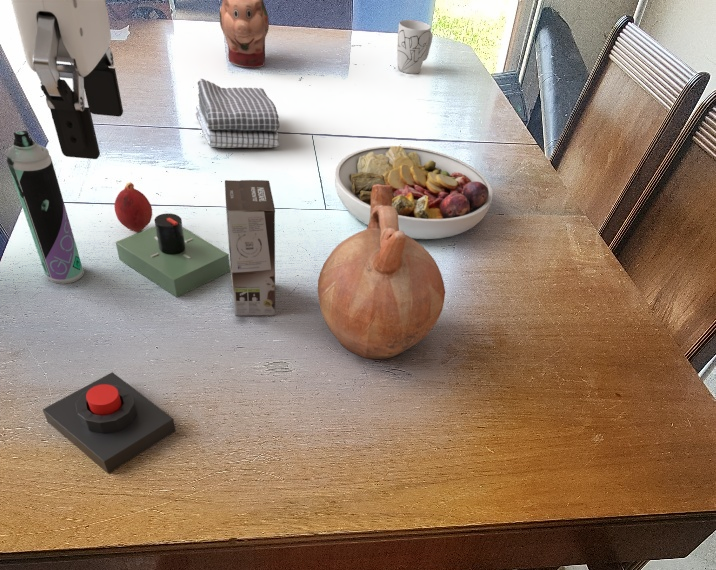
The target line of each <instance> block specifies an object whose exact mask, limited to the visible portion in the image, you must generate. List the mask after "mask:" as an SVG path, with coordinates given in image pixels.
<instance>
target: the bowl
mask: <svg viewBox="0 0 716 570" xmlns="http://www.w3.org/2000/svg"><path fill="white" fill-rule="evenodd" d="M334 172H335V173H334V187H335V191H336V194H337V197H338V199H339V201H340V202H341V204H342V205H343V207H344V208H345V209H346V210H347V212H349V214H351V216H352V217H354V218H356V219H357V221H360V222H362V223H363V224H365V225H366V226H368V224H369V221H370V209H371V192H372V187H373V186H374V185H377V184H379V185H391V186H392V207H394V208H395V209H396V210H397V212H398V224H399V231H403V232H404V234H405V235H407V236H409V237H410V238H412V239H414V240H415V239H416V240H417V239H418V240H437V239H444V238H451V237H455V236H457V235H461V234H463V233H465V232H467V231H469V230H471V229H472V228H475V226H476V225H477V224H479V223H480V222H481V220H482V219H483V218H484V217H485V216H486V215H487V213H488V211H489V208H490V206H491V203H492V199H493V189H492V186H491V184H490V182H489V181H488V179H487V178H486V176H484V174H482V172H480V171H478V170H477V169H476V168H474V167H473V166H472V165H470V164H468V163H466V162H465V161H463V160H460V159H458V158H456V157H453V156H451V155H448V154H446V153H445V154H444V153H441V152H438V151H434V150H432V149H431V150H430V149H426V148H420V147H414V146H405V145H404V146H403V145H384V146H383V145H382V146H374V147H367V148H363V149H360V150H356V151H354V152H352V153H349V154H348V155H346V156H345V157H343V158H342V159H341V160H340V161H339V162H338V164H337V165H336V168H335V171H334Z"/></svg>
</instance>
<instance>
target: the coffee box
mask: <svg viewBox="0 0 716 570" xmlns="http://www.w3.org/2000/svg"><path fill="white" fill-rule="evenodd" d="M224 192H225V193H224V194H225V210H226V225H227V227H226V228H227V238H228V239H227V240H228V250H229V251H228V252H229V253H228V254H229V265H230V277H231V289H232V298H233V300H232V301H233V310H234V315H235V316H275V315H276V208H275V203H274V198H273V193H272V189H271V184H270V180H266V179H265V180H264V179H261V180H260V179H241V180H231V179H230V180H229V179H226V180H224Z"/></svg>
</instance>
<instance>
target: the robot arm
mask: <svg viewBox="0 0 716 570" xmlns="http://www.w3.org/2000/svg"><path fill="white" fill-rule="evenodd" d="M11 4H12V9H13V12H14V16H15V20H16V24H17V25H16V26H17V29H18V33H19V37H20V41H21V45H22V48H23V53H24V57H25V60H26V63H27V66H29V68H30V69H31V70H32V71H33V72H35V73H36V74H37V77H38V78H39V81H40V89H41V91H42V92H43V94H44V96H45V102H46V106H47V108H48V109H49V110H50V114H51V117H52V121H53V124H54V128H55V132H56V137H57V139H58V143H59V146H60V150H61V154H62V155H63V156H64V157H67V158H77V159H86V160H87V159H88V160H89V159H90V160H97V159H99V157H100V156H101V151H100V147H99V143H98V137H97V135H96V134H97V133H96V130H95V124H94V122H93V121H94V120H93V117H92V116H93V115H96V116H97V115H99V116H108V117H109V116H110V117H121V116H123V113H124V108H123V104H122V97H121V92H120V85H119V81H118V76H117V70H116V68H115V67H114V66H115V58H114V54H113V51H112V49H111V47H110V45H111V41H112V34H111V25H110V17H109V12H108V11H109V10H108V6H107V1H106V0H11ZM57 62H60V63H57ZM61 62H62V63H61ZM65 63H67V64H65ZM65 79H70V80H71V79H72V88H71V87H70V85H69V84H68V82H67V81H66V80H65ZM85 97H86V102H87V107H86V106H85V104H86V103H85Z"/></svg>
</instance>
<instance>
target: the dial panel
mask: <svg viewBox="0 0 716 570" xmlns="http://www.w3.org/2000/svg"><path fill="white" fill-rule="evenodd" d="M182 227H183V226H182ZM183 234H184V241H185V250H184V251H183V252H181V253H179V254H166V253H163V252H161V251H160V249H159V244H158V238H157V233H156V227H155V225H154V226H152V227H149V228H146V229H143V230H142V231H141V232H136V233H134V234H132V235H130V236H127V237H124V238H122V239H120V240H117V241H115V246H116V250H117V255H118V259H119V261H121V262H123V263H124V264H125V265H127V266H129V267H130V268H131V269H133V270H134V271H136V272H137V273H139V274H141V276H144V277H145V278H146V279H148V280H150V281H151V282H152V283H154V284H156V285H157V286H159V287H160V288H162V289H163V290H165V292H168V293H170V294H171V295H172V296H173V297H175V298H179V297H181V296H183V295H185V294H187V293H189V292H191V291H193V290H195V289H197V288H200V287H201V286H203V285H205V284H208V283H209V282H212V281H213V280H215V279H217V278H219V277H221V276H224V275H225V274H227V273H229V272H230V273H231V266H230V253H228V252H226V251H224V250H222V249H221V248H219V247H217V246H216V245H214V244H212V243H211V242H209V241H207V240H205V239H204V238H202V237H200V236H199V235H197V234H196V233H194V232H192V231H191V230H189V229H187V228H185V227H183Z"/></svg>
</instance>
